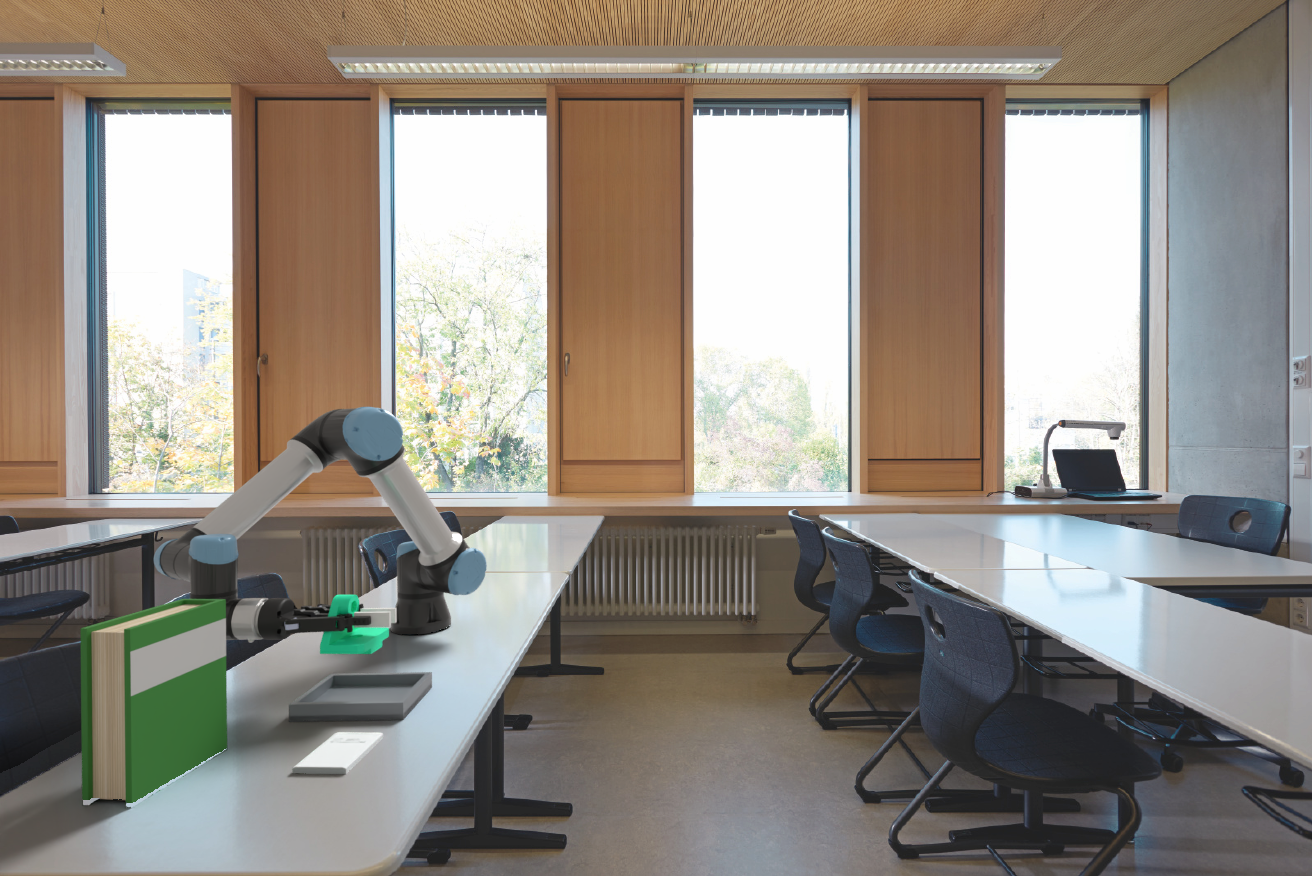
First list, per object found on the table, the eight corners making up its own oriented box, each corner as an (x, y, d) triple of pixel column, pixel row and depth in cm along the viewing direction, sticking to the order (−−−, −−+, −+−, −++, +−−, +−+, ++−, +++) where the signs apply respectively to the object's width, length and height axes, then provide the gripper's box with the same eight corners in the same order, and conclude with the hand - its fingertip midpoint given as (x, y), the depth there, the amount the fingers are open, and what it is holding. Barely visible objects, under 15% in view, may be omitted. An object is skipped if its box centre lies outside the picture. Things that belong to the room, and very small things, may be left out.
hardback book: (131, 808, 93) (130, 629, 93) (82, 805, 94) (80, 628, 94) (227, 749, 110) (225, 599, 110) (184, 748, 111) (183, 598, 111)
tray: (331, 689, 137) (330, 673, 137) (432, 687, 137) (431, 672, 137) (289, 721, 121) (288, 704, 121) (403, 719, 121) (403, 702, 121)
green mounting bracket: (361, 660, 123) (361, 602, 123) (320, 660, 123) (319, 602, 123) (390, 641, 135) (390, 588, 135) (352, 640, 135) (352, 588, 135)
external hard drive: (291, 777, 102) (335, 741, 114) (346, 778, 102) (383, 741, 114) (291, 766, 102) (334, 731, 114) (346, 767, 102) (383, 731, 114)
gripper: (288, 628, 137) (407, 626, 137) (242, 651, 121) (377, 649, 122) (287, 590, 137) (407, 588, 137) (242, 608, 121) (376, 606, 122)
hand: (392, 617), depth 129 cm, fingers closed on green mounting bracket, 2 cm apart
